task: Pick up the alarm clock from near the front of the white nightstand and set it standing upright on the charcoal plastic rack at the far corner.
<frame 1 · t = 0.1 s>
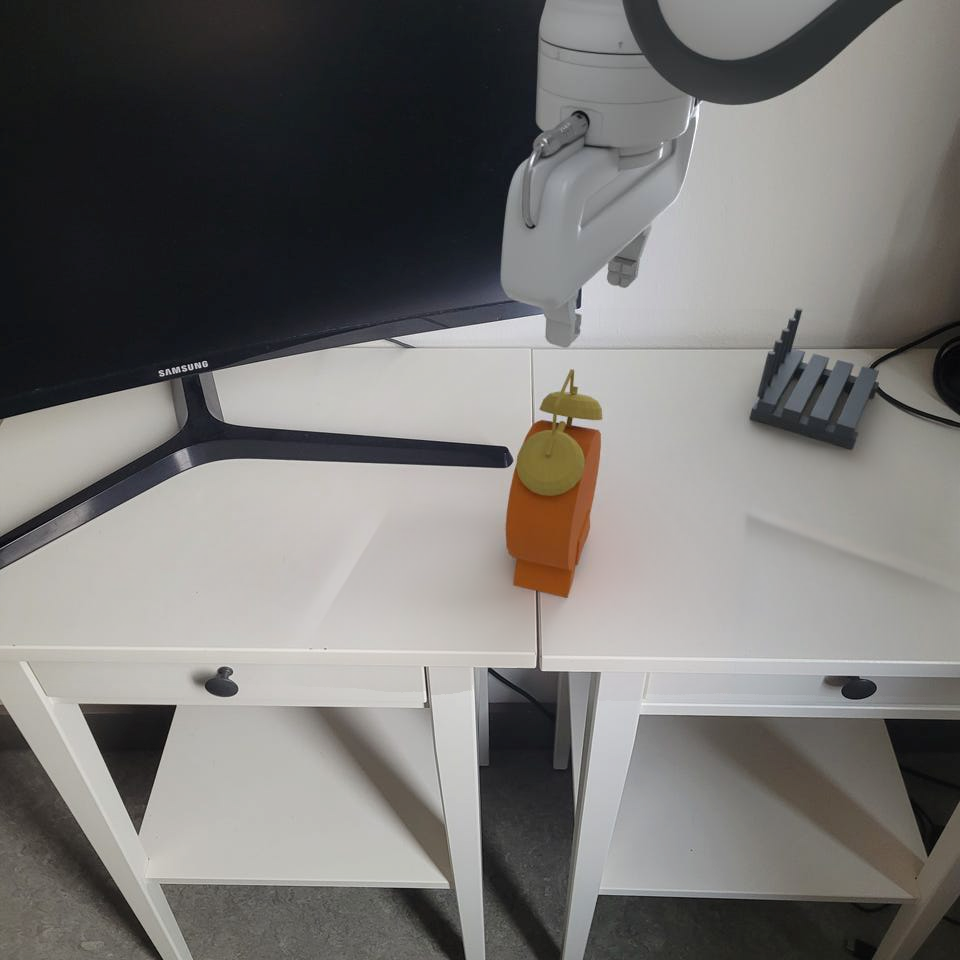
hand: (593, 310, 55), 31 cm above the table, tool pointing down, fingers open, 8 cm apart
alarm clock: (551, 556, 81), on the table
rack: (813, 405, 101), on the table
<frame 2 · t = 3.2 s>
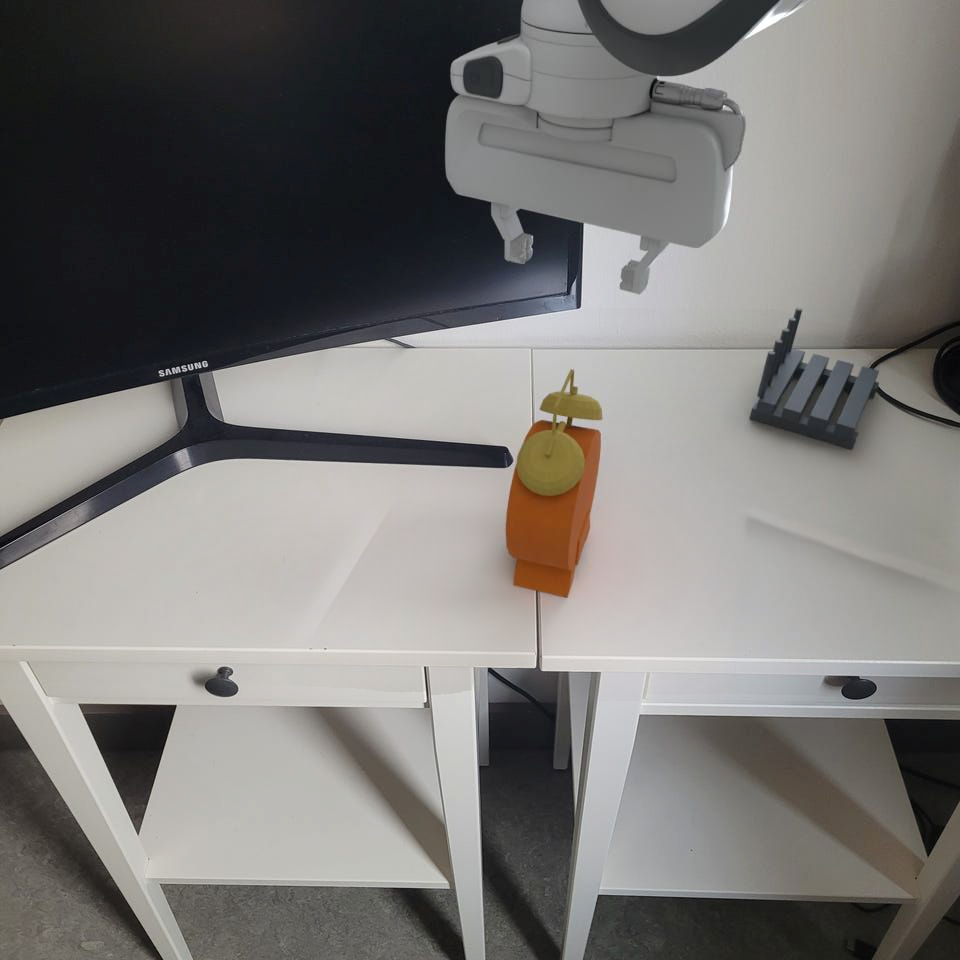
hand: (574, 274, 60), 31 cm above the table, tool pointing down, fingers open, 8 cm apart
nothing on the table moved.
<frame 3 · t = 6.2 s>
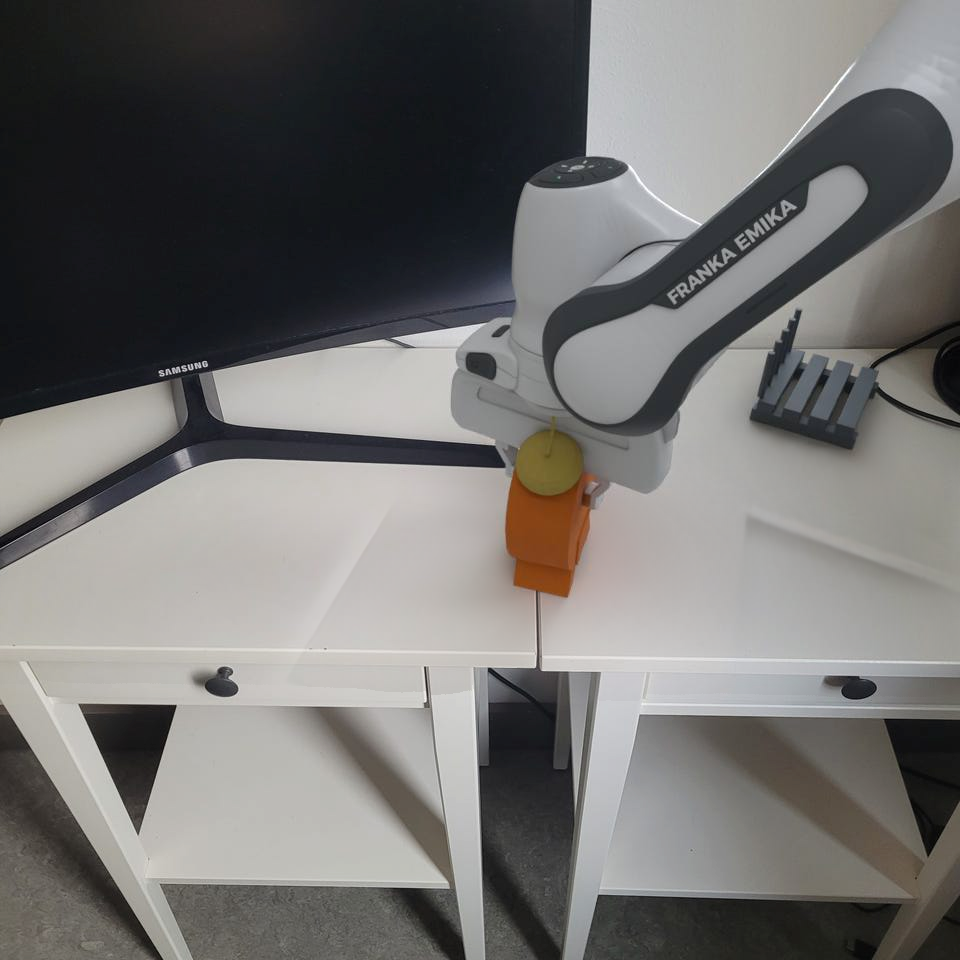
hand: (552, 489, 76), 9 cm above the table, tool pointing down, fingers closed on alarm clock, 6 cm apart
alarm clock: (551, 556, 81), on the table, touching arm, gripper
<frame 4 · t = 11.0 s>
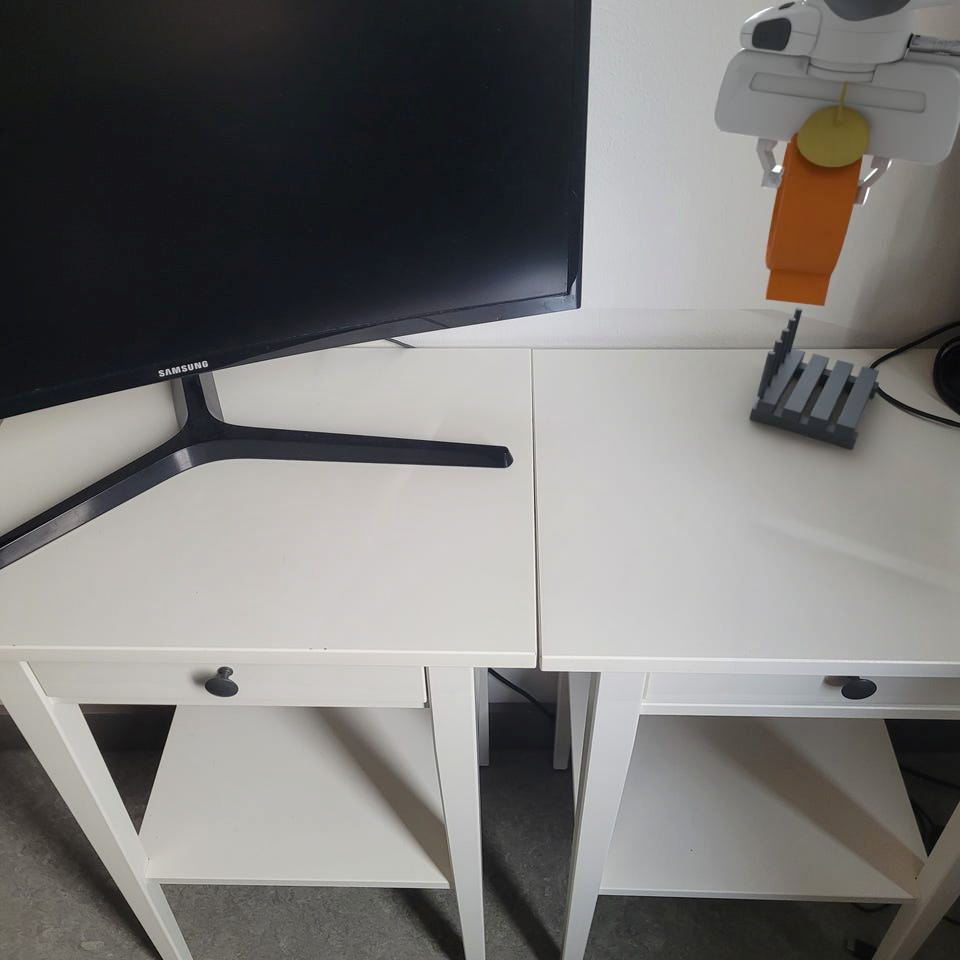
hand: (811, 194, 76), 29 cm above the table, tool pointing down, fingers closed on alarm clock, 6 cm apart
alarm clock: (793, 281, 82), point 20 cm above the table, touching arm, gripper
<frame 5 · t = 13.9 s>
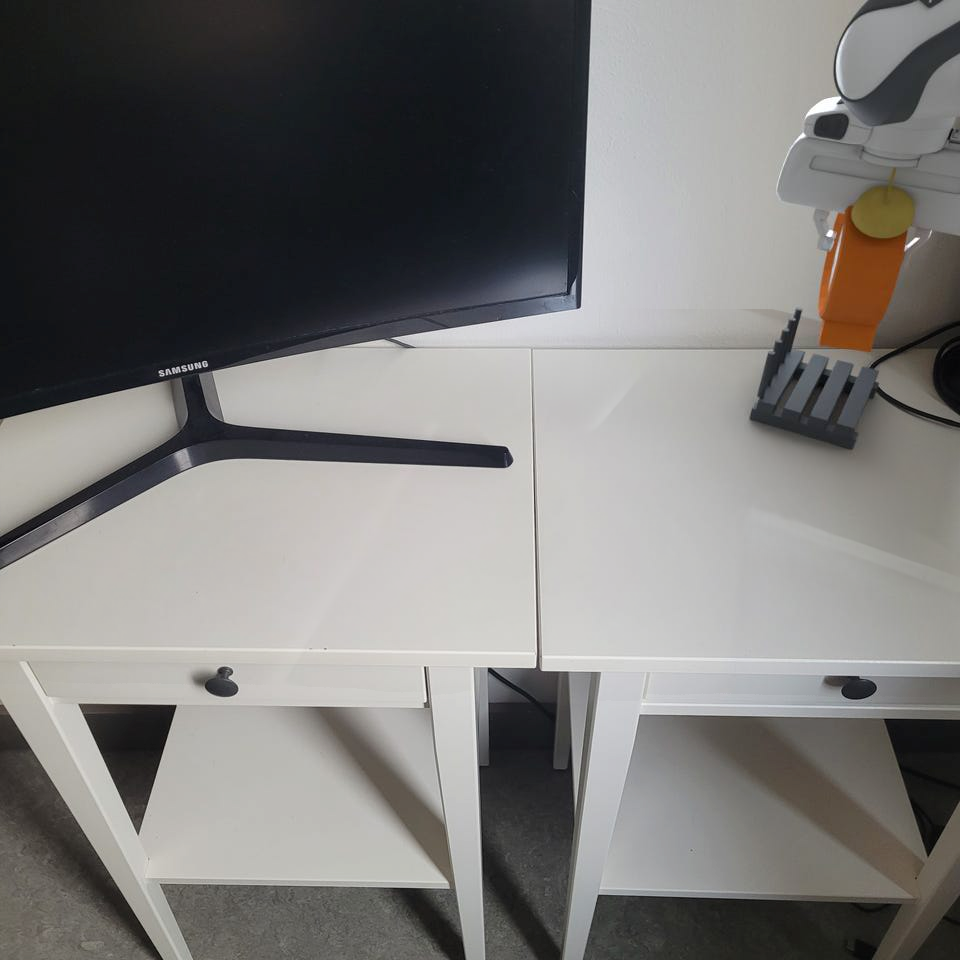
hand: (860, 256, 88), 20 cm above the table, tool pointing down, fingers closed on alarm clock, 6 cm apart
alarm clock: (841, 328, 93), point 11 cm above the table, touching arm, gripper
when the fingers open (12 cm above the table, at t = 16.3 s): alarm clock stays where it is, resting on rack.
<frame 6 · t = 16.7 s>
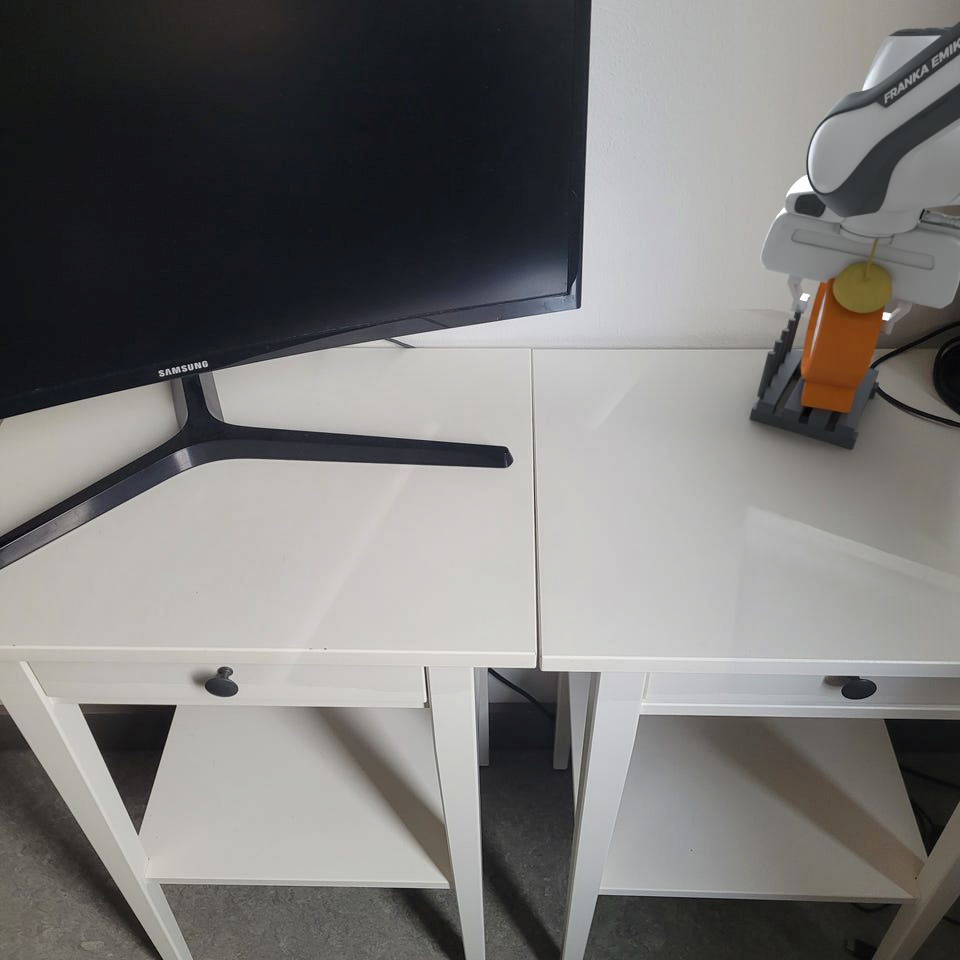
hand: (840, 320, 93), 12 cm above the table, tool pointing down, fingers open, 8 cm apart
alarm clock: (823, 387, 99), point 3 cm above the table, touching rack
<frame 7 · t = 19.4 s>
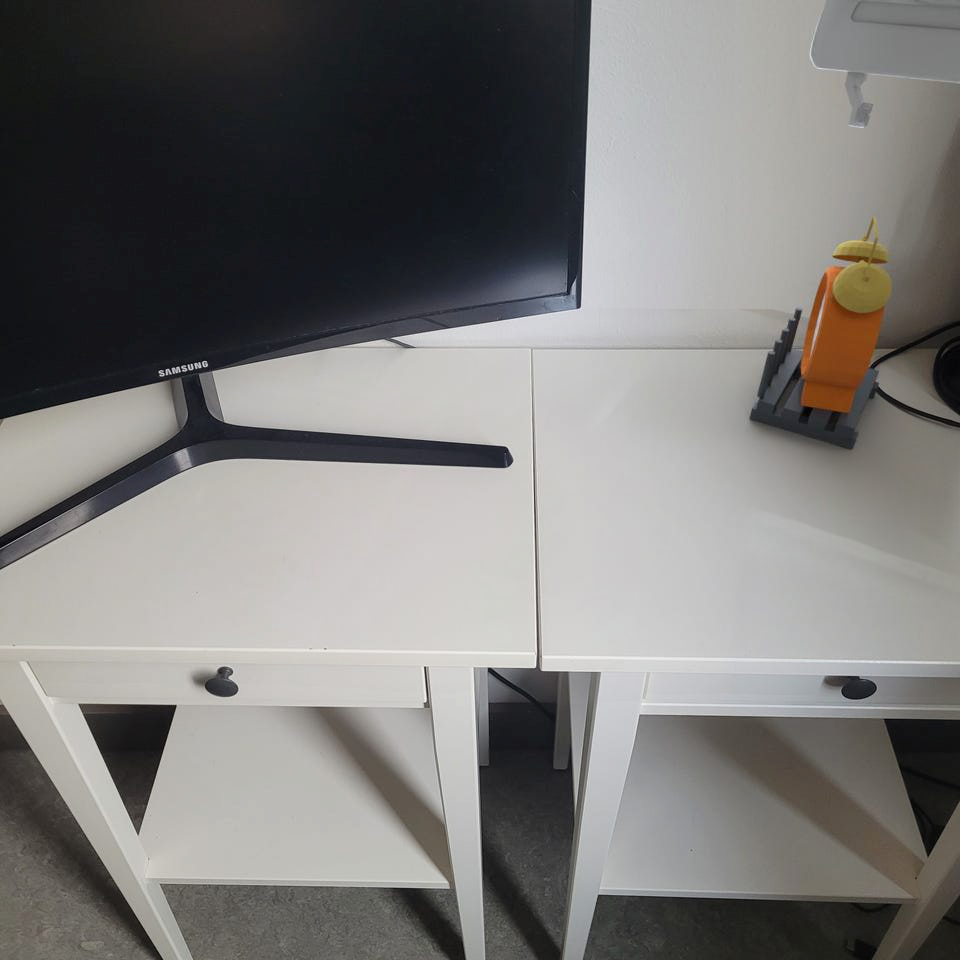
hand: (912, 132, 73), 34 cm above the table, tool pointing down, fingers open, 8 cm apart
nothing on the table moved.
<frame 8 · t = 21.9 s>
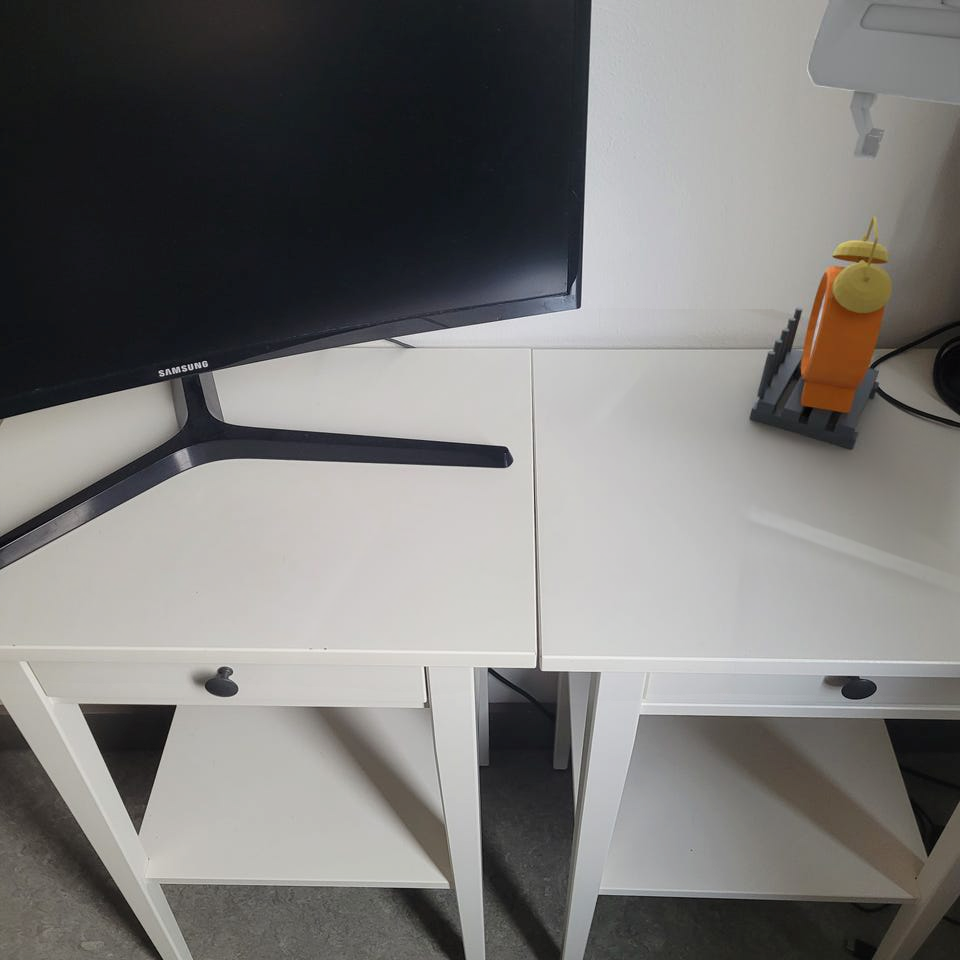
hand: (932, 167, 59), 37 cm above the table, tool pointing down, fingers open, 8 cm apart
nothing on the table moved.
at the end: alarm clock inside the target area on the rack (0.4 cm from its centre), point 2.8 cm above the rack's base; alarm clock tilted 0°; the gripper is holding nothing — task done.
